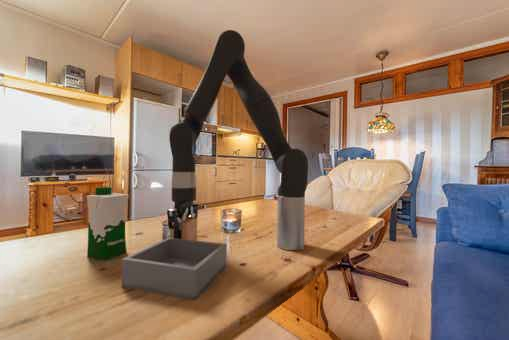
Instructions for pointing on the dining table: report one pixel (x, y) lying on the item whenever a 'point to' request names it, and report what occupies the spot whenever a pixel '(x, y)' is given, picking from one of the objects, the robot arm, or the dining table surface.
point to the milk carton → (106, 224)
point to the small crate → (187, 229)
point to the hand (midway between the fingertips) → (184, 238)
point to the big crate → (175, 267)
